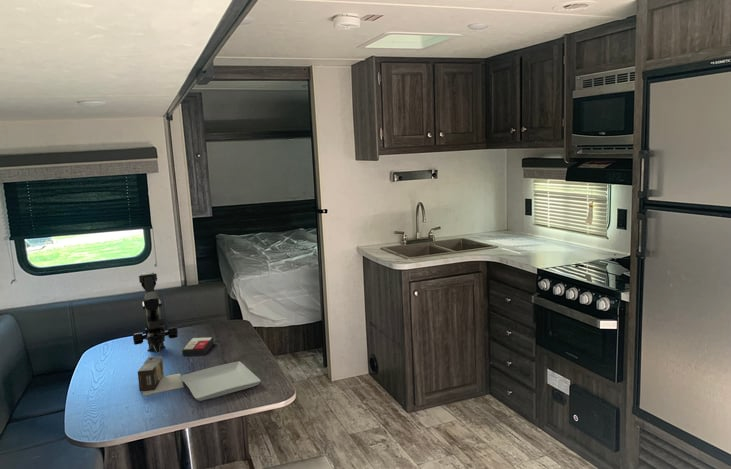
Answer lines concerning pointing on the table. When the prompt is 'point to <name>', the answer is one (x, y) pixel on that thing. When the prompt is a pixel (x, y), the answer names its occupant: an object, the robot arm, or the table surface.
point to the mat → (167, 384)
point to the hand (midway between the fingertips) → (158, 352)
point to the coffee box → (150, 373)
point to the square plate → (219, 380)
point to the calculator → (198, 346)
